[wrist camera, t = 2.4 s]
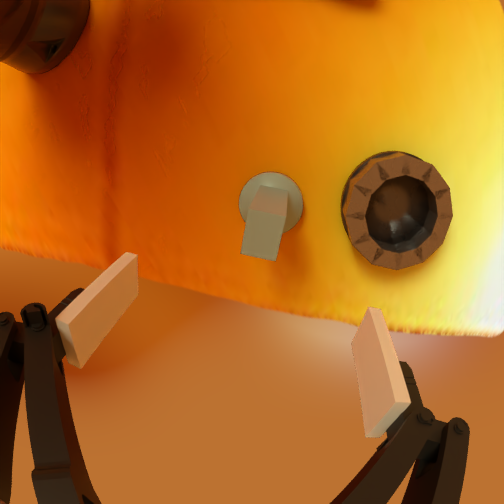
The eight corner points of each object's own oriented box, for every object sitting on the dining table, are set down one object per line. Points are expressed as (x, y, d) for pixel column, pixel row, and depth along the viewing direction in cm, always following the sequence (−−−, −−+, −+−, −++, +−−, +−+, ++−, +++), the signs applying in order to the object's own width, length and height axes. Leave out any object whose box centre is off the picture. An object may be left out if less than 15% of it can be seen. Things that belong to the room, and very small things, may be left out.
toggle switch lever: (236, 224, 35) (215, 264, 26) (246, 166, 32) (226, 185, 23) (294, 237, 35) (294, 281, 25) (308, 179, 32) (315, 204, 22)
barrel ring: (327, 244, 34) (330, 256, 31) (356, 136, 29) (363, 138, 26) (419, 266, 34) (428, 279, 31) (453, 171, 28) (466, 177, 25)
